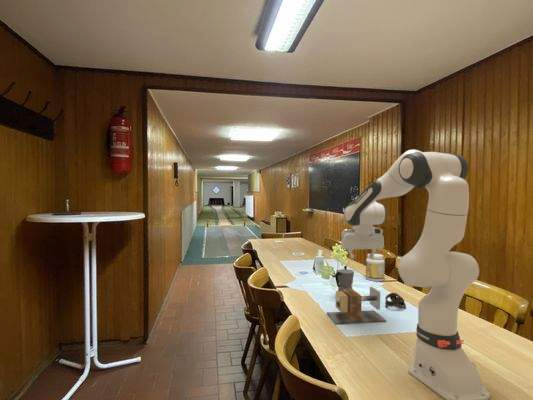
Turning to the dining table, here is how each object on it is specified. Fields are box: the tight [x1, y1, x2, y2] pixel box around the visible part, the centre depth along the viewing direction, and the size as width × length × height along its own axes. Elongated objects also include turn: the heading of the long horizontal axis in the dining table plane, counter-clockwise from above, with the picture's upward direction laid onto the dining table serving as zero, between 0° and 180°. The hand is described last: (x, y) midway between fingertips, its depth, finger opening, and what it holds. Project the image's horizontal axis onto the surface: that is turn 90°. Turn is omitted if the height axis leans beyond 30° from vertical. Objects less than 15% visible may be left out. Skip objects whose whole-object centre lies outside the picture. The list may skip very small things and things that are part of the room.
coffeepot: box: [334, 265, 355, 292], centre depth 171 cm, size 15×9×18 cm, turn 129°
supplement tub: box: [365, 253, 386, 282], centre depth 210 cm, size 12×12×17 cm
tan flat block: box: [335, 290, 348, 313], centre depth 142 cm, size 3×7×7 cm, turn 7°
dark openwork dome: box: [384, 292, 407, 310], centre depth 158 cm, size 12×10×8 cm
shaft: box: [334, 286, 381, 310], centre depth 143 cm, size 20×8×8 cm, turn 97°
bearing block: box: [326, 288, 387, 325], centre depth 143 cm, size 24×12×12 cm, turn 97°
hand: (362, 258), depth 145 cm, fingers open, 8 cm apart
